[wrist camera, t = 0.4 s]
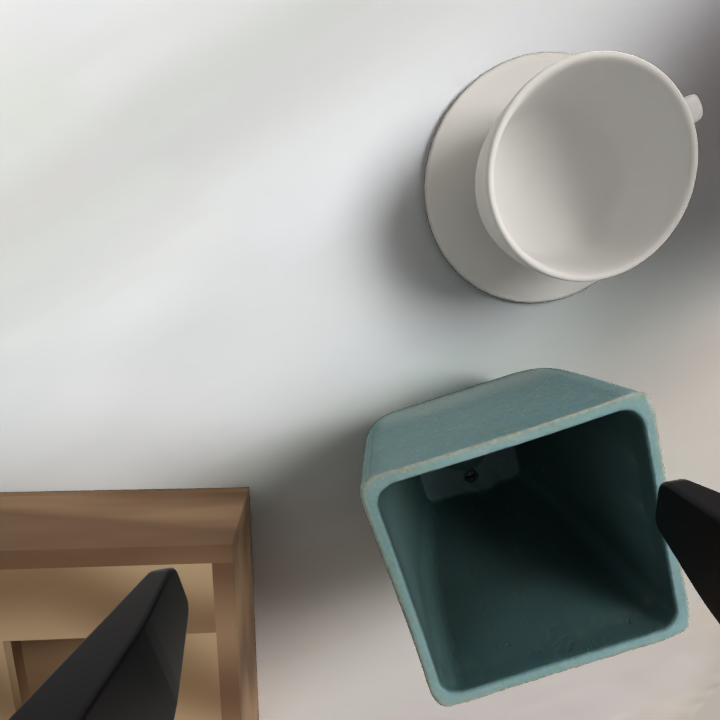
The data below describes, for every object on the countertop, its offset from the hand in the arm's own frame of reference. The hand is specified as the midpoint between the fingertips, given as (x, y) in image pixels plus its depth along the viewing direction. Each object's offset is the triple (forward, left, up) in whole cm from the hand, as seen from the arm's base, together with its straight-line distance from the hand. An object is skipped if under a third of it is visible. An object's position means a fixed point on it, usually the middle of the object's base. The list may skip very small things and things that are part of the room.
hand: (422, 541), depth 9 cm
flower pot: (-4, -5, -14) cm, 15 cm away
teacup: (+8, -7, -14) cm, 18 cm away
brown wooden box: (-13, +11, -14) cm, 22 cm away
